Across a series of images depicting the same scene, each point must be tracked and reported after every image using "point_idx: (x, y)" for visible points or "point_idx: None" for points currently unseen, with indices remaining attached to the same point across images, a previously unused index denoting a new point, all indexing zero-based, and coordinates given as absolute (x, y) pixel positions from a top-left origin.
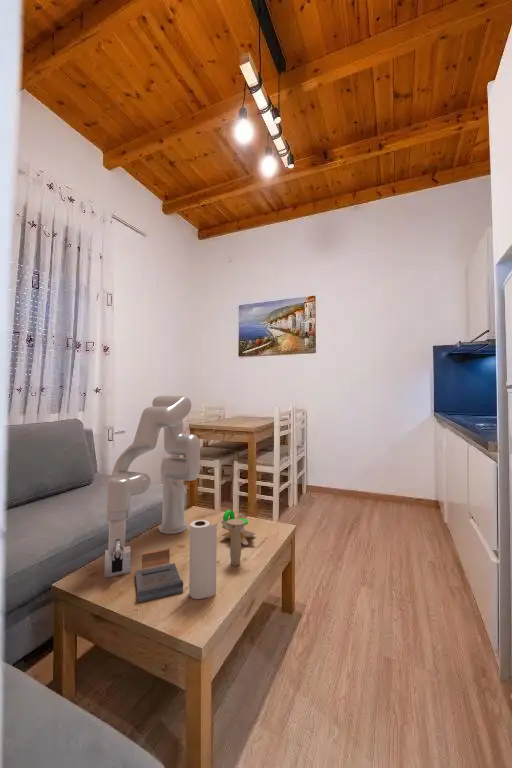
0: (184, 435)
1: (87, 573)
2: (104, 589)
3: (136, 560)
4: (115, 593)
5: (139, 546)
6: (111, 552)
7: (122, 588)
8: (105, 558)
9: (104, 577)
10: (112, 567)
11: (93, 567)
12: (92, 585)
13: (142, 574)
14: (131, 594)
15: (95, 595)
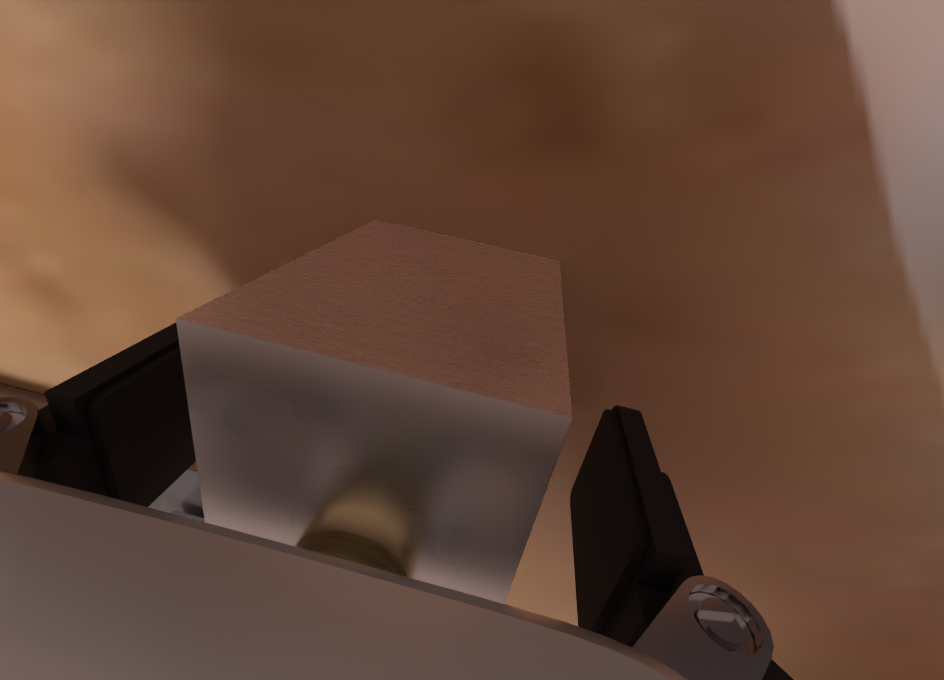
0: None
1: (640, 10)
2: (135, 172)
3: (560, 550)
4: (50, 252)
5: (845, 662)
6: (343, 480)
7: (118, 323)
8: (214, 313)
9: (373, 220)
10: (156, 340)
11: (773, 132)
12: (258, 47)
13: (186, 508)
14: (22, 355)
15: (38, 56)
